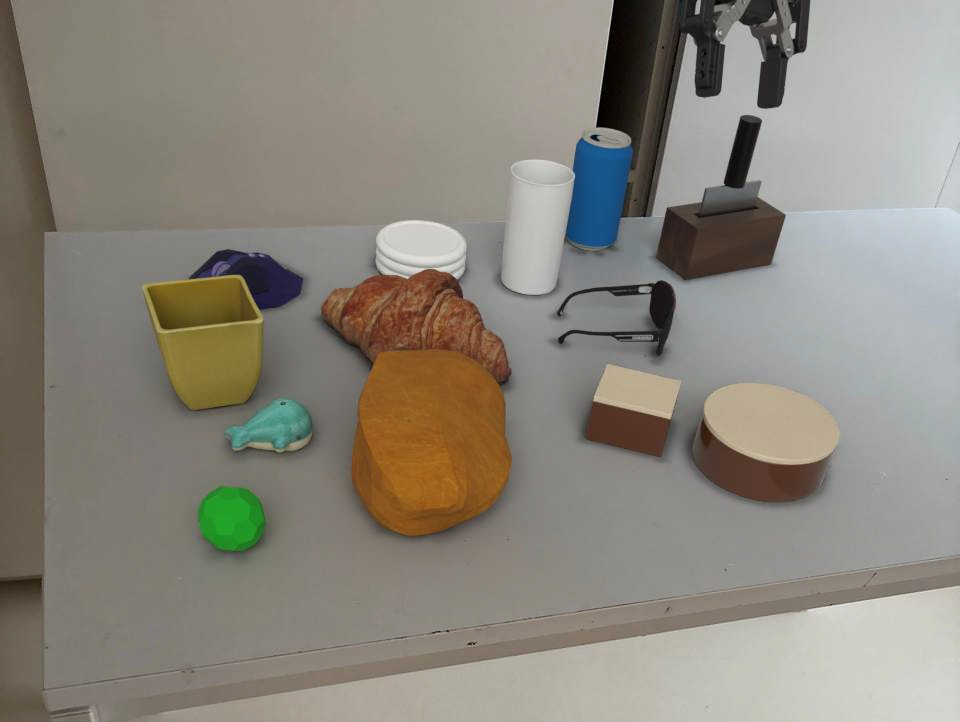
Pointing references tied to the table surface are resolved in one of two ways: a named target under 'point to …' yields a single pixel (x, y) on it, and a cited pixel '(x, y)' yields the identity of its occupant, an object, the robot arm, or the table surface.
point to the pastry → (414, 319)
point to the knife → (736, 175)
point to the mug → (535, 225)
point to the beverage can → (598, 188)
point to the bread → (429, 441)
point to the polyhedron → (231, 518)
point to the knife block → (718, 239)
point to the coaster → (419, 249)
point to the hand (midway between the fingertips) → (739, 102)
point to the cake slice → (633, 410)
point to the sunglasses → (659, 311)
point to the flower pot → (208, 338)
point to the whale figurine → (274, 428)
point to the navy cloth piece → (254, 276)
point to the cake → (764, 442)
